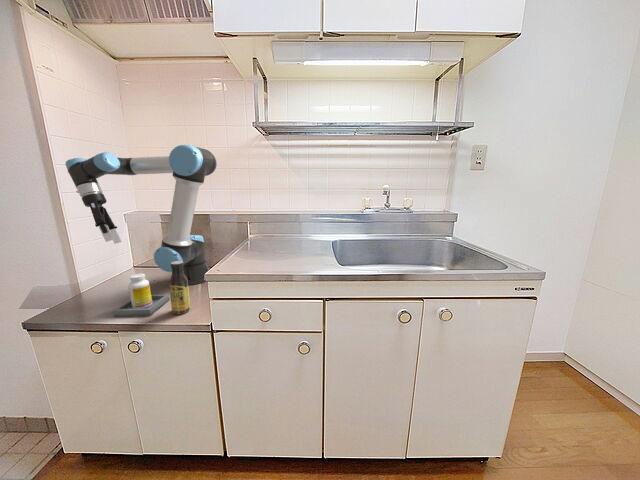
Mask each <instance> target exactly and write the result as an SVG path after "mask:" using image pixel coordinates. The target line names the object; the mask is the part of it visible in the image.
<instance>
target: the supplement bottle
mask: <svg viewBox="0 0 640 480" xmlns="http://www.w3.org/2000/svg"><path fill="white" fill-rule="evenodd" d="M129 278H130V279H129V280H130V281H131V282H129V283H128V291H129V292H128V293H129V297H130V298H129V299H131V303H132V308H133V309H142V308H147V307H149V306H151V305H152V296H151V295H152V292H151V286H150V281H149V280H148V279H146V274H145V273H136V274H132V275H130V276H129Z"/></svg>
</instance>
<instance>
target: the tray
mask: <svg viewBox="0 0 640 480" xmlns="http://www.w3.org/2000/svg"><path fill="white" fill-rule="evenodd" d="M151 296H152V305H151V306H149V307H147V308H142V309H133V308H132V303H131V298H129V299H128V300H127V301H125V302H124V303H122V304H121V305H119V306H117V307H116V308H114V309H113V310H112V313H113V317H114V318H117V317H151V316H152V315H154V314H155V313H156V312H157V311H158V310H160V309H161V308H162V307H163V306H164V305H166V304H167V303H168V302H169V301H171V298H170V293H169V294H168V293H167V294H151Z"/></svg>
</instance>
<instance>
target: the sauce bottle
mask: <svg viewBox="0 0 640 480" xmlns="http://www.w3.org/2000/svg"><path fill="white" fill-rule="evenodd" d="M171 268H172V272H171V276H170V281H169V287H168V288H169V298H170V304H171V305H170V306H171V311H172V313H173V314H174V315H185V314H186V313H188V312H189V311H190V308H191V300H190V289H189V285H188V279H187V277H186V276H185V274H184V271H183V262H182V261H174V262H172V263H171Z"/></svg>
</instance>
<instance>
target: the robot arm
mask: <svg viewBox="0 0 640 480" xmlns="http://www.w3.org/2000/svg"><path fill="white" fill-rule="evenodd" d="M64 165H65V167H66V169H67V173H68V174H69V176H70V178H71V180H72V182H73V183H74V186H75V188H76V191H75V192H76V193H77V194H79V196H80V197H81V201H82V202H83V205H84V206H85V207H87V208H90V211H91V214H92V217H93V219H94V223H95V227H96V228H99V230H100V233H101V235H102V237H103V239H104V240H105V242H106V243H107V242H110V241H113V244H114V245H116V244H119V243H122V242H123V241H122V239H121V237H120V234H119V232H118V231H117V229H118V226H116V225H115V223H114V222H113V220H112V218H111V216H110V214H109V213H108V211H107V208H106V207H104V206H103V205H105V204H106V203H107V199H106V198H107V197H106V196H105V195H104V194H105V193H104V194H103V190H102V188H101V186H100V184H99V182H98V179H99V178H101V177H103V176H106V175H117V176H118V175H122V176H123V175H125V176H137V175H157V174H159V175H160V174H161V175H162V174H172V177H173V178H174V179H175V185H174V189H173V190H174V192H173V199H172V203H171V204H172V205H171V210H170V217H169V223H168V228H167V233H166V235H165V236H163V237H162V238H161V239H162V240H161V245H160V246H159V247H158V248H157V249H156V250H155V251H154V253H153V261H154V263H155V264H156V265H157V266H158V268H159V269H161V270H162V271H164V272H168V273H172V268H171V263H172V262H174V261H182V262H183V271H184V274H185V276H186V277H187V279H188V286H192V285H193V286H194V285H199V284H202V283H205V282H207V281H205V280H204V274H205V273H206V272H207V271H208V270H210V268H209V266H208V264H207V257H206V249H205V246H206V245H205V240H204V236H203V235H199V234H191V231H192V227H193V226H192V225H193V221H194V214H195V209H196V203H197V199H198V198H197V197H198V194H199V188H200V186H201V185H203V184H204V182H205V178H206V177H207V176H210V175H212V174H213V173H214V172H215V170H216V169H217V165H218V164H217V159H216V156H215V155H214V154H213V153H212V152H211V151H209V150H208V149H206V148H201V147H198V146H194V145H191V144H179V145H177V146H175V147H173V149H171V151H170V153H169V155H166V156H165V155H164V156H162V155H161V156H146V157H145V156H144V157H118V156H116V155H115V154H113V153H111V152H109V151H103V152H101V153H97V154H96V155H94V156H92V157H90V158H87V159H86V158H83V157H74V158H69V159H68V160H66V161H65V164H64Z"/></svg>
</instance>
